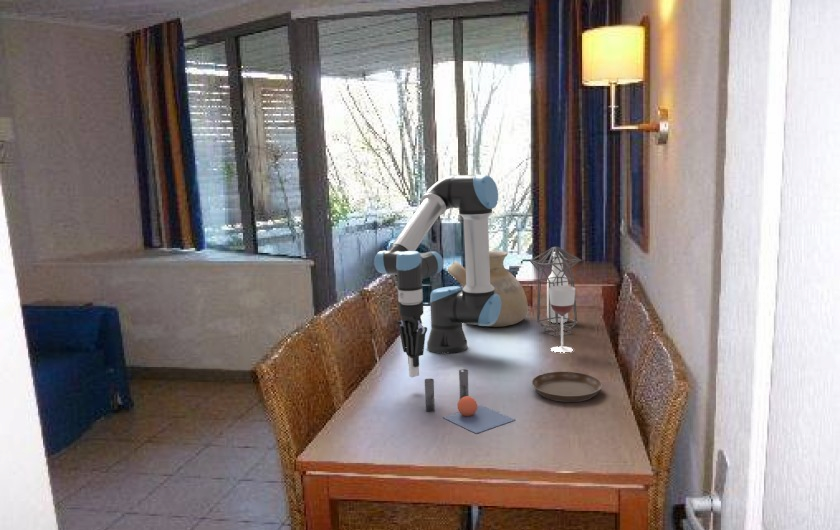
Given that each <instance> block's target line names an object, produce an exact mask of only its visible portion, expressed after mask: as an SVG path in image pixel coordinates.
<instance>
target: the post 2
mask: <svg viewBox="0 0 840 530" xmlns="http://www.w3.org/2000/svg"><path fill="white" fill-rule="evenodd" d="M458 376H459V379H458V380H459V400H460V399H461V398H462V397H465V396H469V370H468V369H459V371H458Z"/></svg>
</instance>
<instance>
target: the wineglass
mask: <svg viewBox="0 0 840 530" xmlns="http://www.w3.org/2000/svg"><path fill="white" fill-rule="evenodd" d="M549 295H550V304H551V307H552V309H553V310H554V311H555V312H556V313H558V314H559V315H561V331H560V335H561V336H560V346H559V347H558V346H553V347H550V349H551V350H550V351H551V352H553V351H554V352H553V353H556V352H560V353H559V354H566V353H565V352H570V353H573V352H574V351H573V349H574V348H573V347H571V346H564V335H563V334H564V331H563V329H564V326H563V324H564V323H563V316H564V315H565V314H567V313H568V314H569V312H571V311H572V310H573V309H574V307H573V305H574V300H576V288H575V286H574V287H572V286H570V285H568V286H552V287H550V288H549ZM572 348H573V349H572ZM572 351H573V352H572ZM561 352H563V353H561Z"/></svg>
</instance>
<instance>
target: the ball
mask: <svg viewBox="0 0 840 530" xmlns="http://www.w3.org/2000/svg"><path fill="white" fill-rule="evenodd" d="M477 407H478V403H477V401H476V400H475V399H474V398H473V397H472V396H465V397H462V398H461V399H460V398H459V400H458V402H457V411H458V413H459V412H460V413H461V414H462V415H464V416H471V415H473V414H474V413H475V412H476V410H477Z"/></svg>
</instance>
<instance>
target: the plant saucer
mask: <svg viewBox="0 0 840 530" xmlns="http://www.w3.org/2000/svg"><path fill="white" fill-rule="evenodd" d="M531 385H532V387H533V389H535V391H536V392H537V393H538V394H539V395H541V396H543V397H544V398H546V399H548V400H552V401H556V402H561V403H562V402H563V403H577V402H583V401H587V400H590V399H592V398H594V397H595V396H596V395H597V394H598V393H599V392H600V391H601V389H602V388H603V384H602V381H600V379H598V378H596V377H595V376H593V375H590V374H586V373H581V372H576V371H575V372H574V371H553V372H552V371H549V372H546V373H542V374H539V375H536V376H535V377H534V378H533V379H532V381H531Z"/></svg>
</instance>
